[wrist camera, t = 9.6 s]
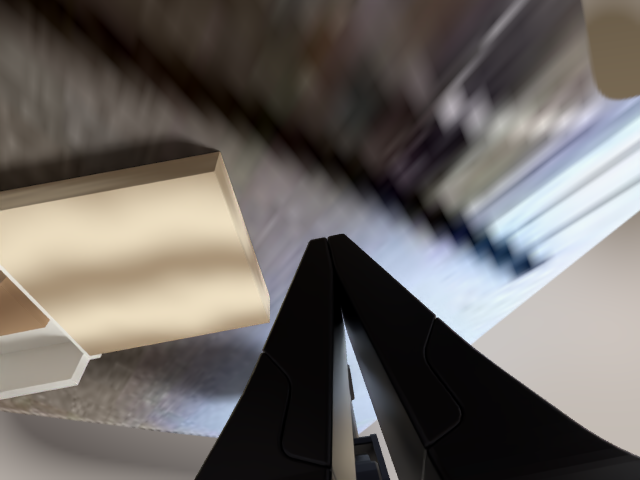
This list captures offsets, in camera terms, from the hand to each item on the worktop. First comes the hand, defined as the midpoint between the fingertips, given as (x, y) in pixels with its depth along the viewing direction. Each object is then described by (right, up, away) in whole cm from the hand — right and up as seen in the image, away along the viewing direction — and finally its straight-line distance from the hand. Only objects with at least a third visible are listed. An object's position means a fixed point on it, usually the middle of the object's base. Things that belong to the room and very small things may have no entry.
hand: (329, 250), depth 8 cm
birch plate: (-11, -1, +14) cm, 18 cm away
